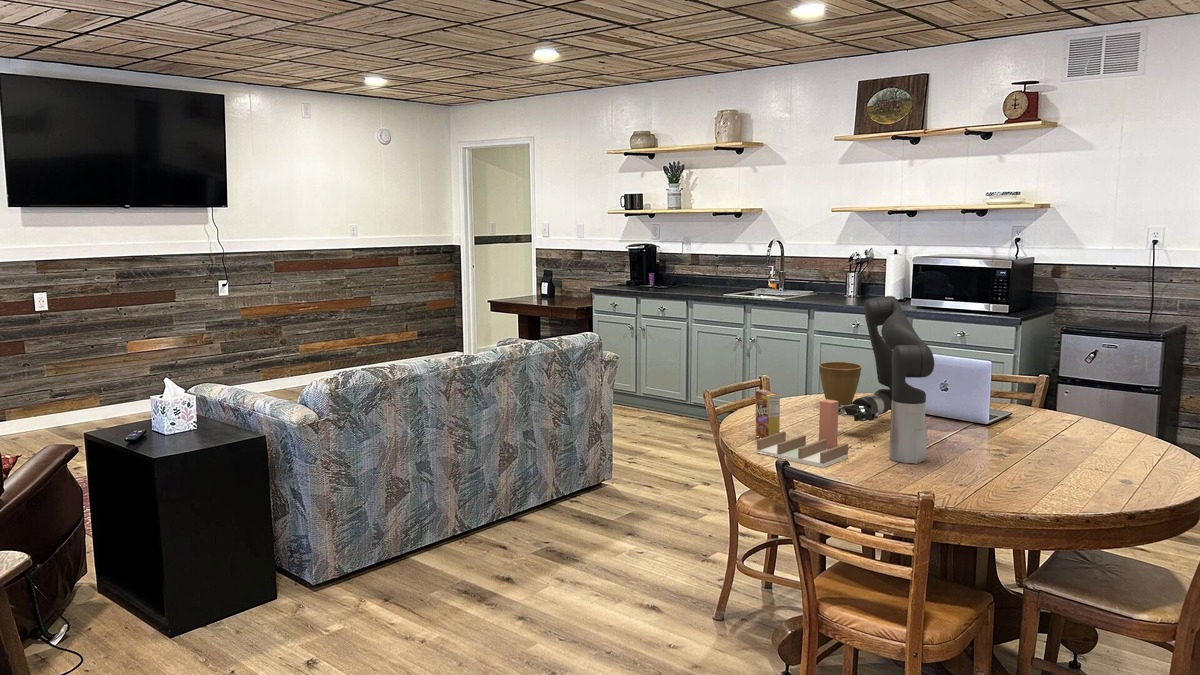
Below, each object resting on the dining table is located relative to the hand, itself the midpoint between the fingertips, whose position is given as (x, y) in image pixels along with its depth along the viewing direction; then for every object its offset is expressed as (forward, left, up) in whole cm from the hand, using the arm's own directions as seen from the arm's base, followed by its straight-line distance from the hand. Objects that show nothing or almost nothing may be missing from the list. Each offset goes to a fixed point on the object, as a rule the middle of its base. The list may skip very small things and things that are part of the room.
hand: (842, 415), depth 273 cm
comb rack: (0, +24, -8) cm, 25 cm away
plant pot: (+24, -42, -8) cm, 49 cm away
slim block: (0, +8, -8) cm, 12 cm away
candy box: (+18, +14, -8) cm, 25 cm away
